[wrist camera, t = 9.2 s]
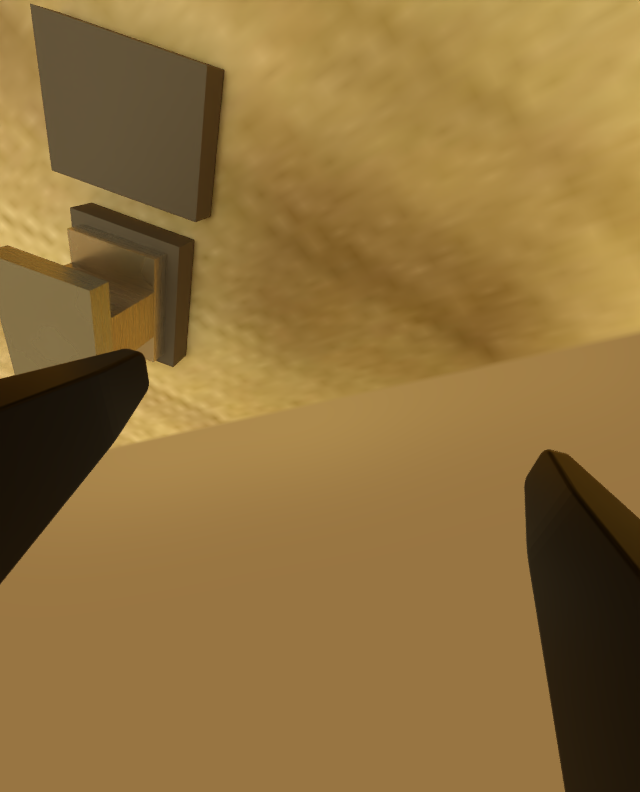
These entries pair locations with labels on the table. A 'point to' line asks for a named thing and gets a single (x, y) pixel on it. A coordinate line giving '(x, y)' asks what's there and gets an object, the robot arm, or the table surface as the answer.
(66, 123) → the stand
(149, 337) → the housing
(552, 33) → the table surface
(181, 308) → the stand
